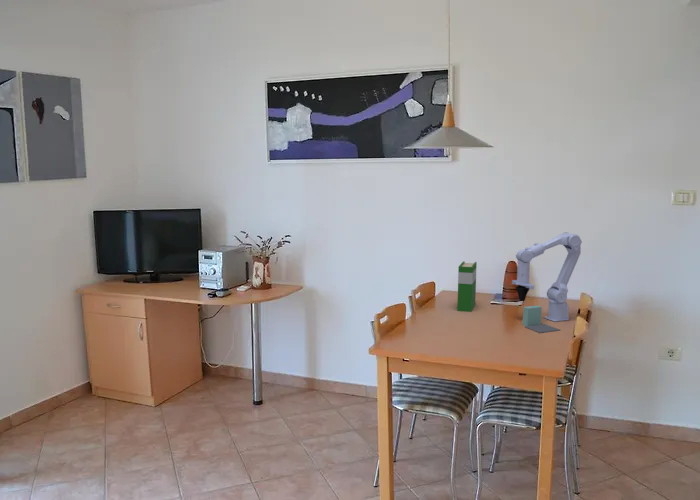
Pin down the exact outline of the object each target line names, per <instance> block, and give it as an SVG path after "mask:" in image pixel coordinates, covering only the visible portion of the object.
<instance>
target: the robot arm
mask: <svg viewBox="0 0 700 500" xmlns="http://www.w3.org/2000/svg"><path fill="white" fill-rule="evenodd" d="M582 243H583V241H582V239H581V237H580V236H579V235H578V234H575V233H569V232H563V233H560V234H558V235H556V236H555V237H552V238H551V239H549V240H547V241H545V242H543V243H540V242H538V243H537V242H534V243H533V245H531V246H529V247H524V248H525V249H519V250H518V251H517V252H516V254H515V259H516V260H517V273H516V279H512V280H511V285H516V286H515V290H516V292H517V295H518V298H519V299H518V300H519V302H525V300H526V298H527V296H528V295H527V294H528V293H529V291H530V290H534V289H535V284H532V283H530V265H531V261H532V260H533V259H534V258H537V257H539V256H541V255H543V254H544V253H545V251H547V250H549V249H551V248H554V247H556V246H559V245H562V246H563V247H564V248H565V250H566V251H567V255H566V257H565V260H564V263H563V264H562V267H561V269H560V272H559V274H558V275H557V279H556V281H555V282H553V283H552V284H551V286H550V287H549V288H548V289H547V290H546V297H547V298H548V313H547V314H548V316H544V317H543V318H544V319H546V320H549V321H552V322H561V321H563V322H564V321H568V320H569V321H570V318H569V309H570V306H569V304H568V302H567V298H568V292H569V289H568V283H569V282H570V279H571V277H572V275H573V272H574V270H575V267H576V265H577V263H578V260H579V258H580V255H581V253H582V251H581V249H582V248H581V245H582Z"/></svg>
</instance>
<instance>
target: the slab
mask: <svg viewBox="0 0 700 500" xmlns="http://www.w3.org/2000/svg"><path fill="white" fill-rule="evenodd" d="M522 308H523V311H522V326H524V327H525V326H532V325H540V324H542V310H543V309H542V306H540V305H530V306H529V305H528V306H523V307H522Z"/></svg>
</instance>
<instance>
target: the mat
mask: <svg viewBox="0 0 700 500" xmlns="http://www.w3.org/2000/svg"><path fill="white" fill-rule="evenodd" d="M524 328H526V329H527V330H531V331H532V332H533V331H534V332H535V333H538V334H543V333H551V332H558V331H559V332H560V331H561V329H560V328H557V327H554V326H551V325H548V324H546V323H541V324H540V325H532V326H524Z"/></svg>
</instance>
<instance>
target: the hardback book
mask: <svg viewBox="0 0 700 500" xmlns="http://www.w3.org/2000/svg"><path fill="white" fill-rule="evenodd" d="M457 279H458V280H457V306H456V309H457V312H464V313H465V312H467V313H472V312H473V310H474V309H475V306H476V296H477V295H476V293H477V292H476V290H477V261H474V263H473V262H472V263H471V262H465V261H462V262H461V263H460V264H459V266H458V274H457Z"/></svg>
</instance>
